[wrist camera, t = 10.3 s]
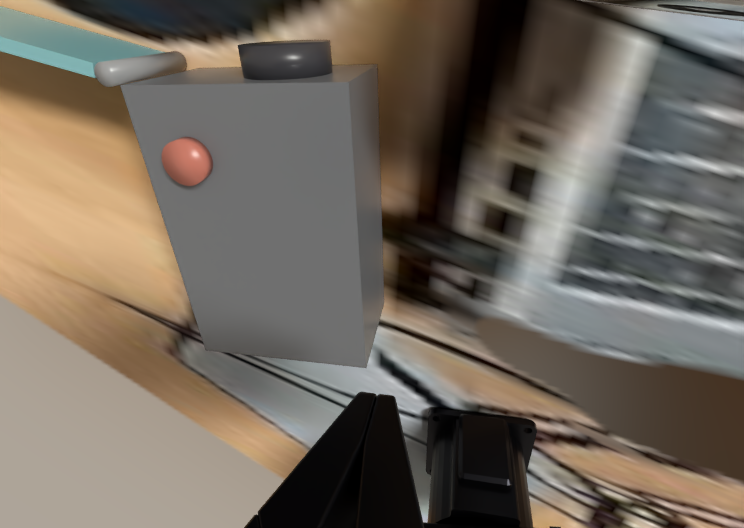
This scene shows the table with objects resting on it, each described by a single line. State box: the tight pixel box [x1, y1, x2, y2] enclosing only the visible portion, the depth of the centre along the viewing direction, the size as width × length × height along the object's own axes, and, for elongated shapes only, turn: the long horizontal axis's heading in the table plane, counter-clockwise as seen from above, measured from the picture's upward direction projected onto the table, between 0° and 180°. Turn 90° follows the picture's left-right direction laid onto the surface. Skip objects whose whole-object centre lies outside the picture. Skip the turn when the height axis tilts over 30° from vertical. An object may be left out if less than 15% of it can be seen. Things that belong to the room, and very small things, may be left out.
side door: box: [0, 6, 187, 87], centre depth 16 cm, size 12×1×4 cm, turn 77°
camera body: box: [120, 40, 384, 368], centre depth 18 cm, size 13×8×6 cm, turn 2°
